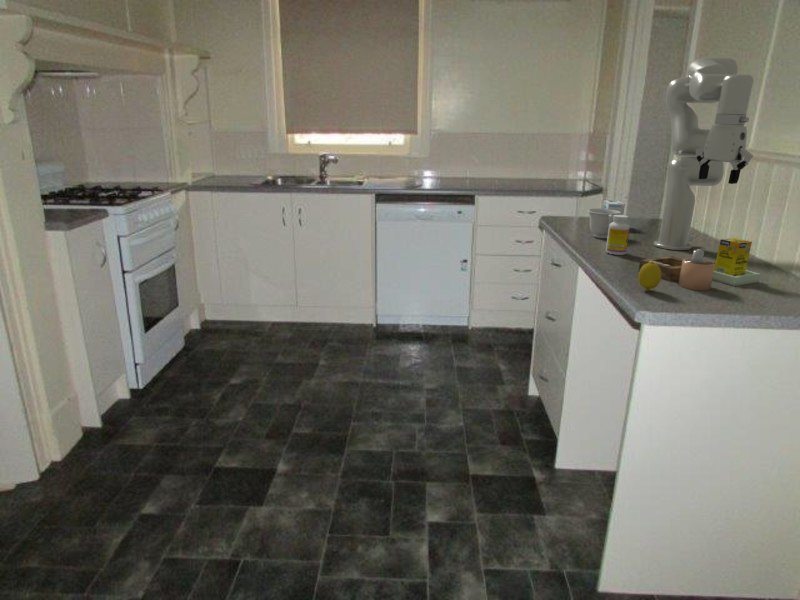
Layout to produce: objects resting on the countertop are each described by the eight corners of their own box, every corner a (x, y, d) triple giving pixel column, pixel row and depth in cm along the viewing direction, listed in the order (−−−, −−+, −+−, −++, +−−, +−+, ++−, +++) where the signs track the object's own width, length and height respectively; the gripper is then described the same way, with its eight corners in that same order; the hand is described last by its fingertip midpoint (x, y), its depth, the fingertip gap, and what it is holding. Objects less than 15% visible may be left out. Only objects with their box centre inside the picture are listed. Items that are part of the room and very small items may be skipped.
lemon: (632, 287, 155) (637, 259, 153) (652, 287, 156) (656, 259, 153) (642, 293, 150) (647, 264, 147) (662, 293, 150) (667, 264, 148)
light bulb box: (600, 224, 247) (603, 199, 243) (616, 225, 246) (619, 200, 243) (605, 229, 237) (608, 203, 233) (621, 230, 236) (625, 204, 232)
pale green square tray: (722, 272, 173) (724, 264, 172) (758, 282, 163) (760, 273, 162) (698, 276, 168) (700, 268, 167) (733, 286, 159) (735, 277, 158)
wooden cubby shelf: (670, 267, 178) (672, 255, 177) (702, 275, 169) (704, 263, 167) (638, 271, 172) (640, 259, 171) (669, 280, 162) (671, 268, 161)
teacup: (592, 241, 213) (596, 214, 210) (580, 233, 227) (583, 208, 224) (625, 241, 213) (629, 215, 210) (610, 234, 227) (614, 208, 224)
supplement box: (731, 280, 162) (739, 243, 158) (712, 275, 167) (719, 238, 163) (744, 278, 164) (752, 241, 161) (725, 273, 169) (732, 237, 166)
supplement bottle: (627, 256, 191) (633, 218, 187) (606, 254, 192) (611, 217, 188) (624, 251, 197) (629, 214, 193) (604, 250, 198) (609, 213, 194)
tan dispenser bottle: (691, 280, 163) (697, 245, 160) (716, 288, 156) (724, 251, 153) (671, 283, 160) (678, 247, 156) (697, 291, 153) (704, 253, 150)
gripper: (767, 122, 157) (753, 184, 163) (710, 119, 172) (699, 176, 178) (750, 122, 154) (736, 186, 160) (694, 119, 169) (683, 177, 175)
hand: (717, 181), depth 169 cm, fingers open, 9 cm apart
